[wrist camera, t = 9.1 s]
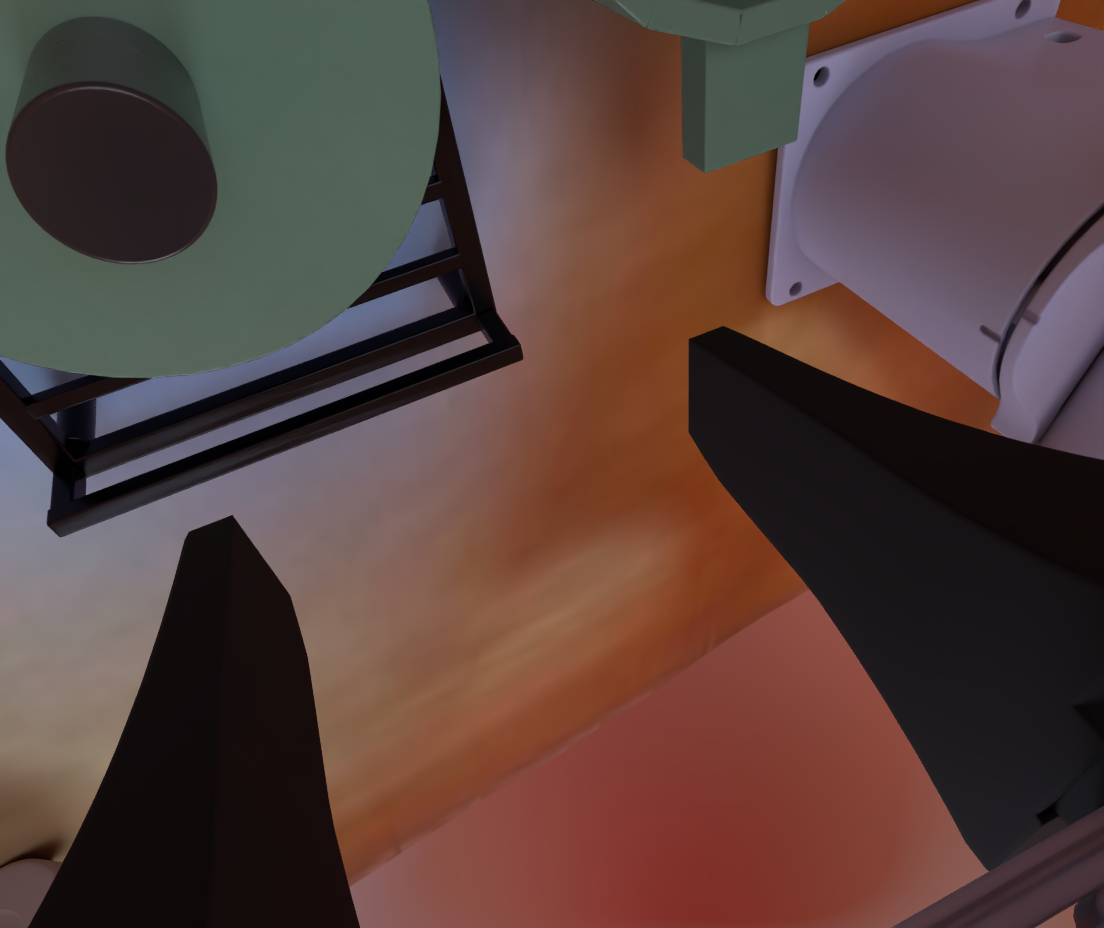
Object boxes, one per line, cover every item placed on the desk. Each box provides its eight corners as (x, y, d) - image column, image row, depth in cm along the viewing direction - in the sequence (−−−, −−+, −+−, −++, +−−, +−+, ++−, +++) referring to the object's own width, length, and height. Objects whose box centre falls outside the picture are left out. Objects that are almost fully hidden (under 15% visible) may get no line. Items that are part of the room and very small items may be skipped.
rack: (218, -680, 10) (262, -859, 7) (467, 275, 21) (524, 361, 18) (-779, -567, 8) (-1293, -748, 5) (70, 417, 19) (61, 540, 16)
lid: (300, -475, 10) (382, -575, 7) (477, 253, 18) (551, 356, 15) (-695, -311, 8) (-1193, -347, 5) (5, 420, 16) (-21, 578, 13)
